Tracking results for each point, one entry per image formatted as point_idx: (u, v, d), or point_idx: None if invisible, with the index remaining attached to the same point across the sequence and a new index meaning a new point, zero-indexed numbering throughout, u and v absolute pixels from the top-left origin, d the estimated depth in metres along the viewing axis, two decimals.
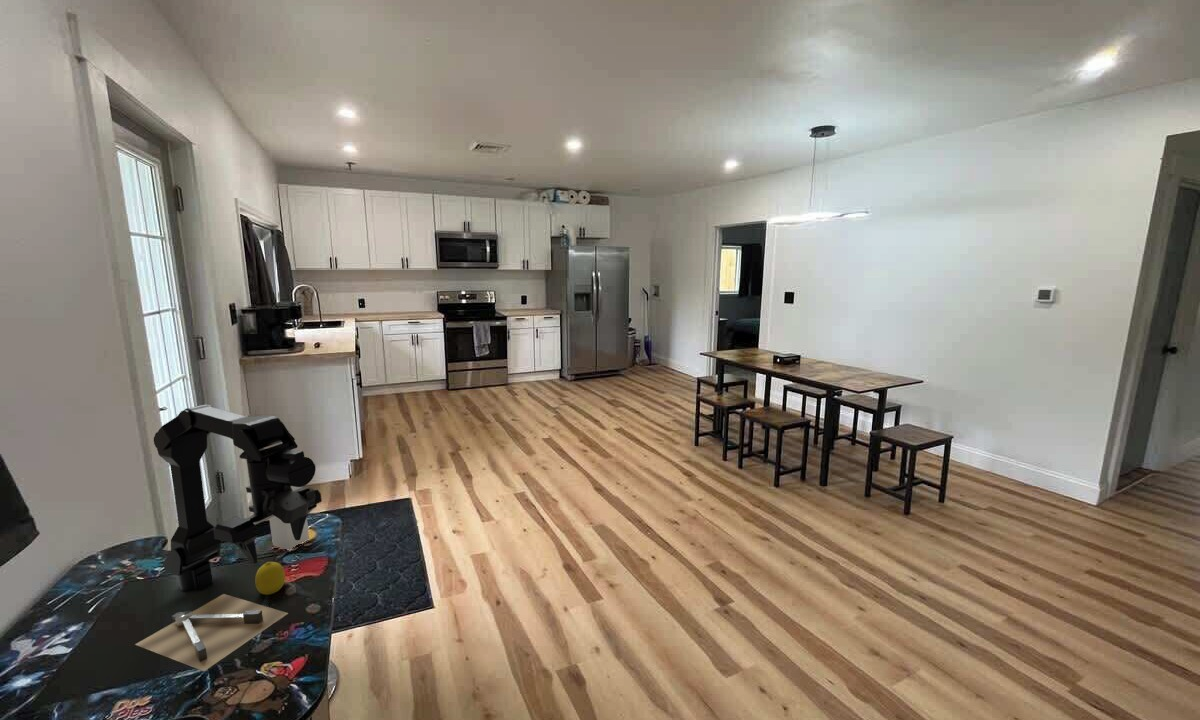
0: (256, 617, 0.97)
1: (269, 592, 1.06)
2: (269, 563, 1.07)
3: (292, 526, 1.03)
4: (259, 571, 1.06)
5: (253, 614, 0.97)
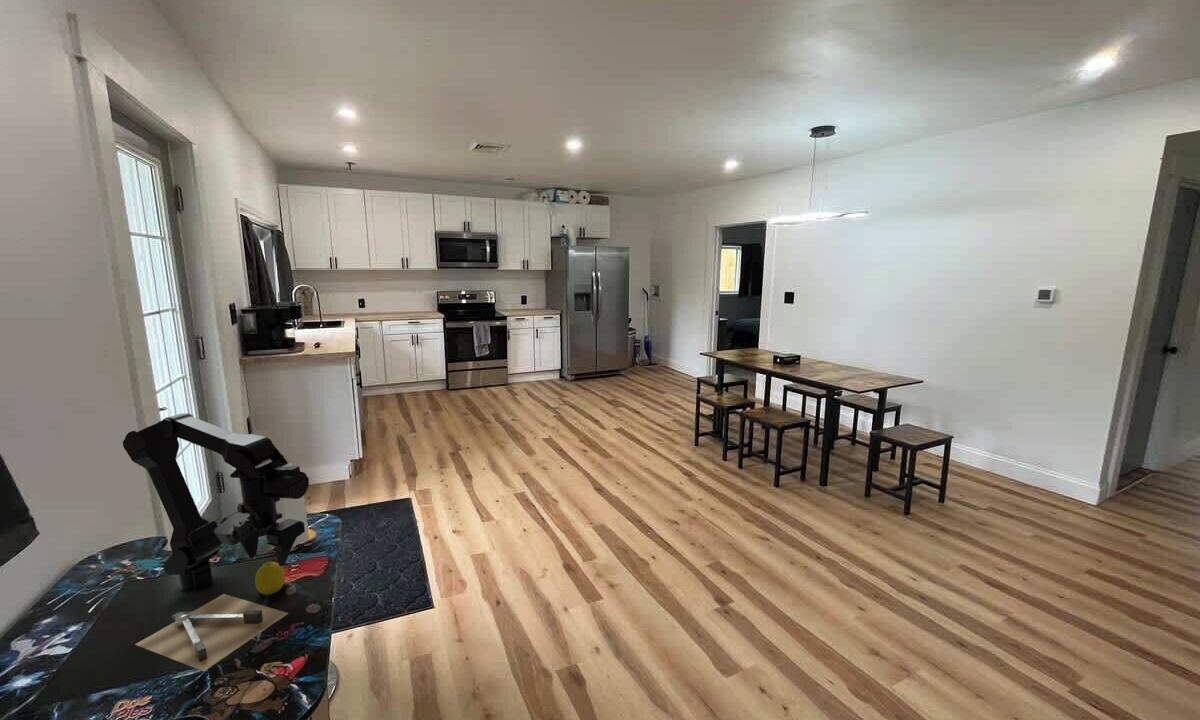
0: (256, 617, 0.97)
1: (269, 592, 1.06)
2: (269, 563, 1.07)
3: None
4: (259, 571, 1.06)
5: (253, 614, 0.97)
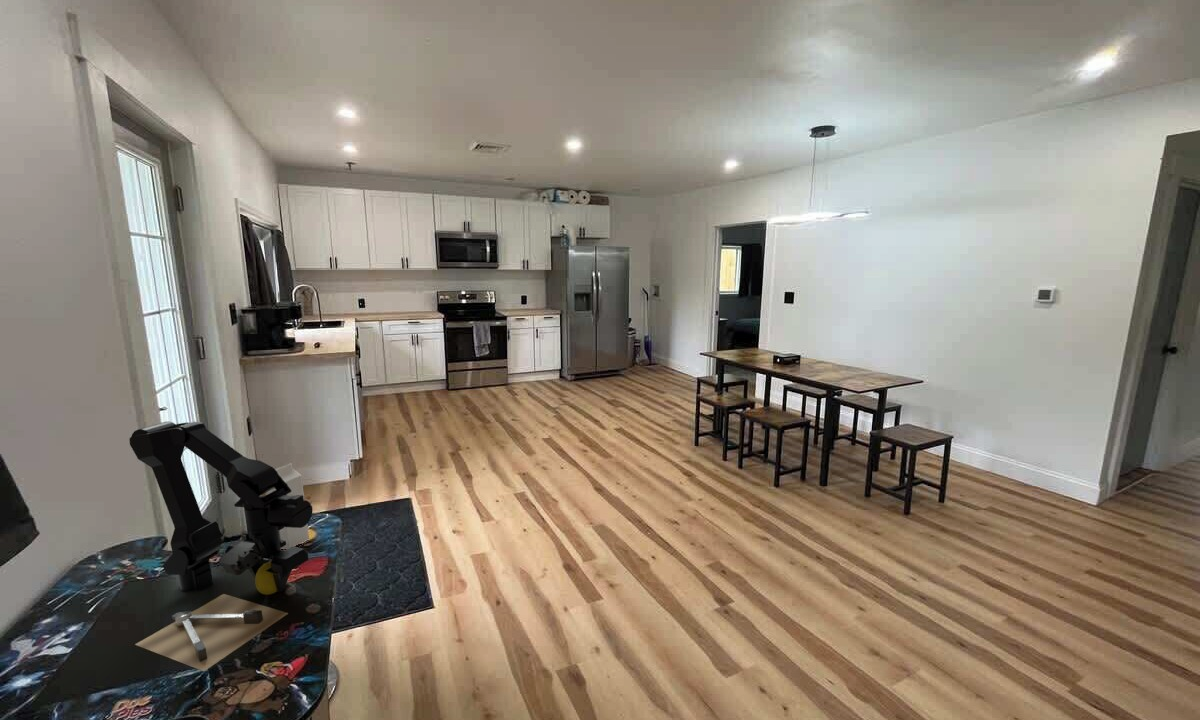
0: (256, 617, 0.97)
1: (269, 592, 1.06)
2: (269, 563, 1.07)
3: None
4: (259, 571, 1.06)
5: (253, 614, 0.97)
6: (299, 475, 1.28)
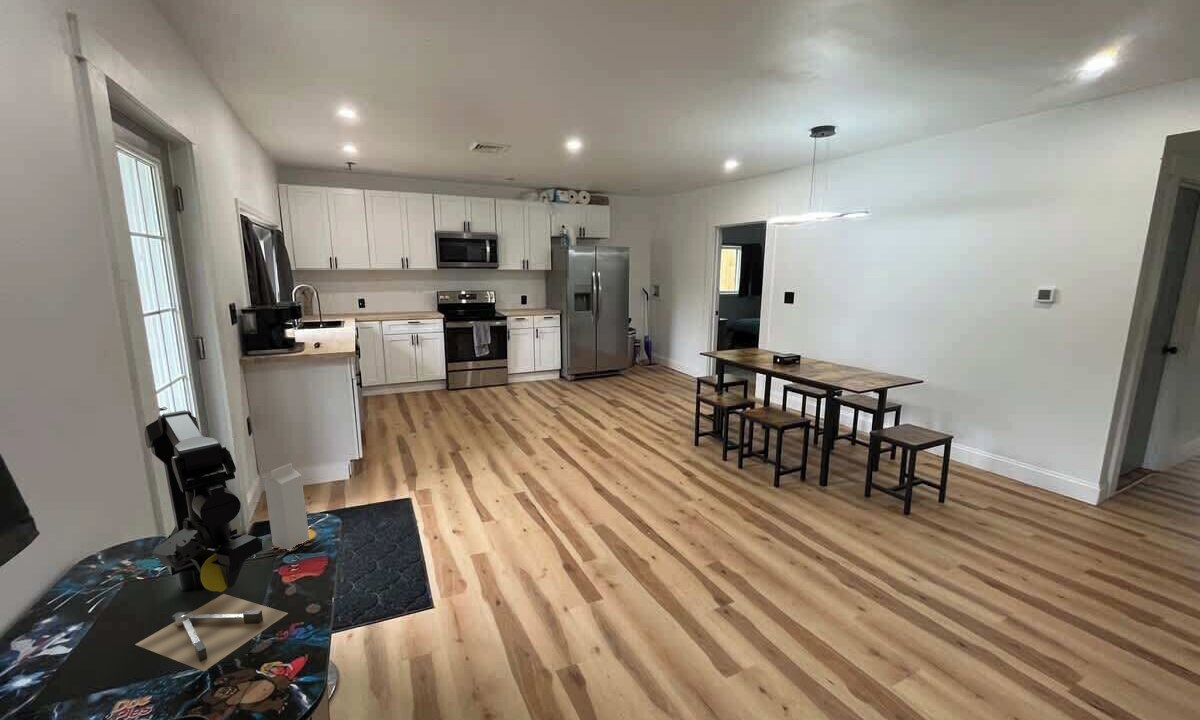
0: (256, 617, 0.97)
1: (217, 588, 0.91)
2: None
3: None
4: (205, 564, 0.91)
5: (253, 614, 0.97)
6: (299, 475, 1.28)
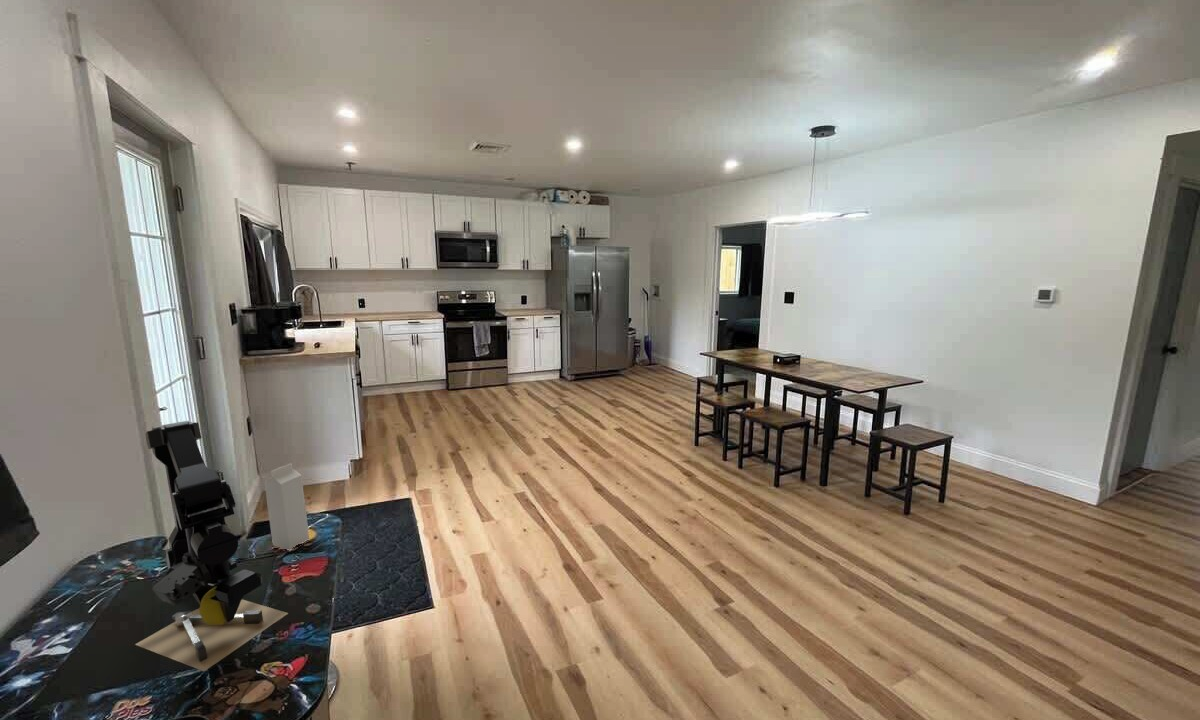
0: (256, 617, 0.97)
1: (216, 622, 0.91)
2: None
3: None
4: (204, 598, 0.91)
5: (253, 614, 0.97)
6: (299, 475, 1.28)
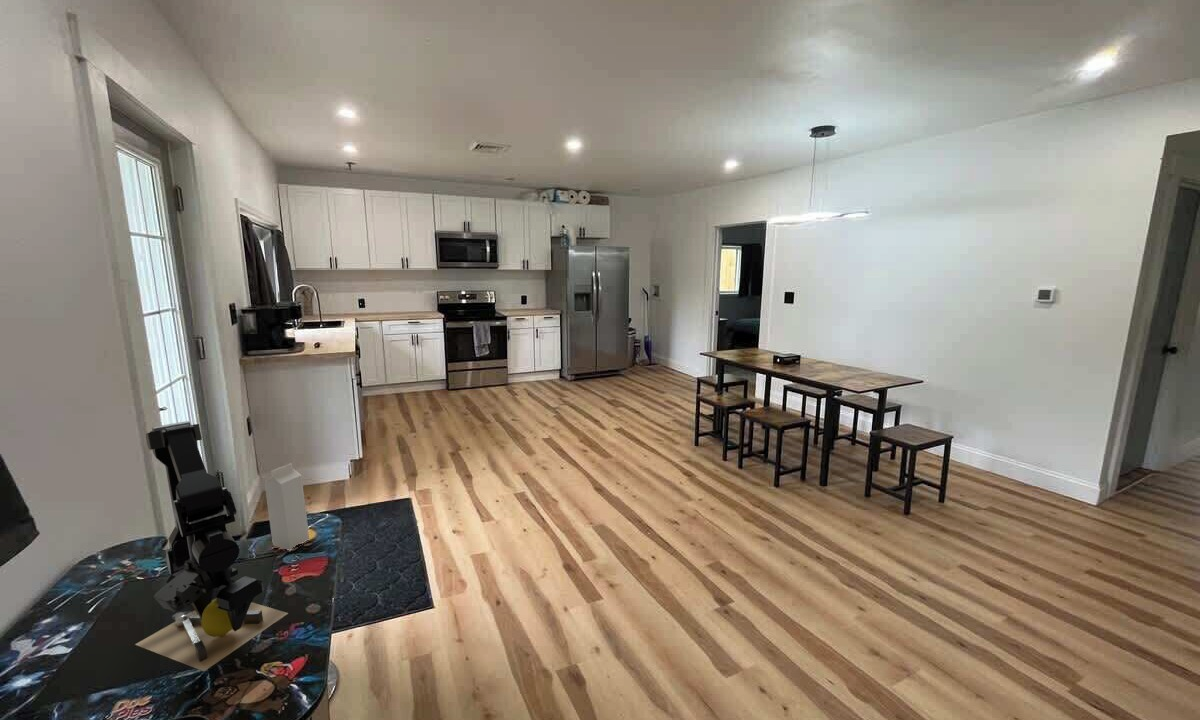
0: (256, 617, 0.97)
1: (218, 634, 0.92)
2: None
3: None
4: (206, 610, 0.91)
5: (253, 614, 0.97)
6: (299, 475, 1.28)
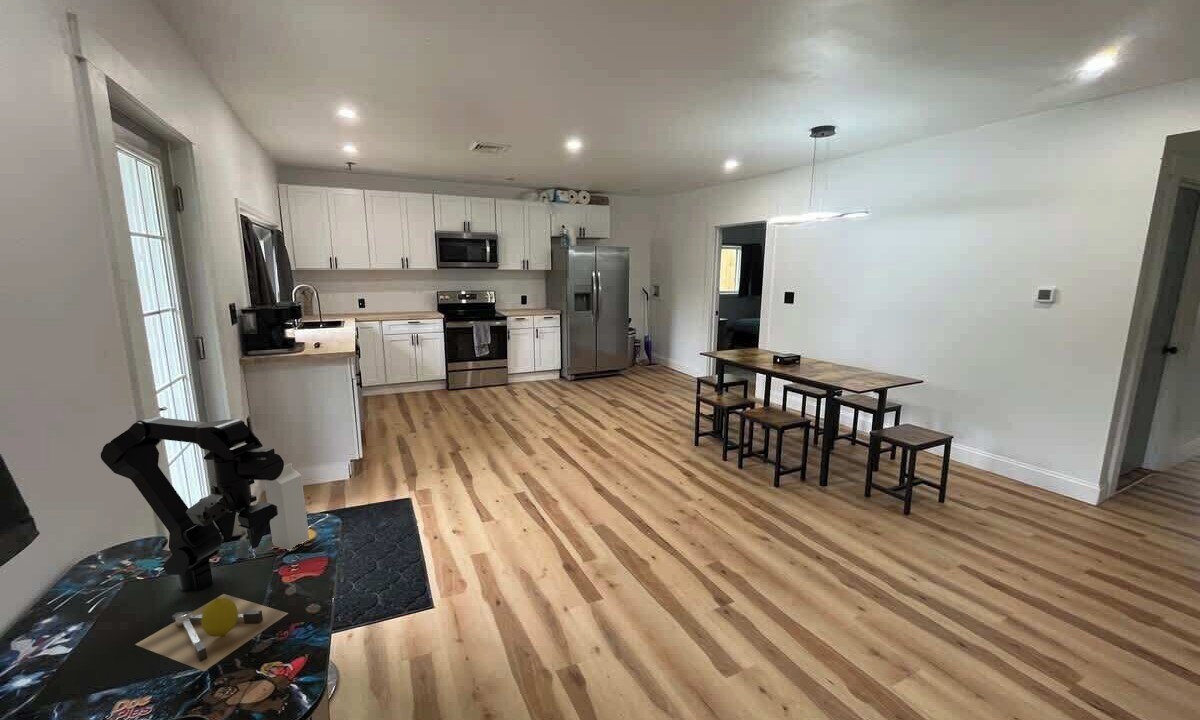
0: (256, 617, 0.97)
1: (218, 634, 0.92)
2: (218, 600, 0.93)
3: None
4: (206, 610, 0.91)
5: (253, 614, 0.97)
6: (299, 475, 1.28)
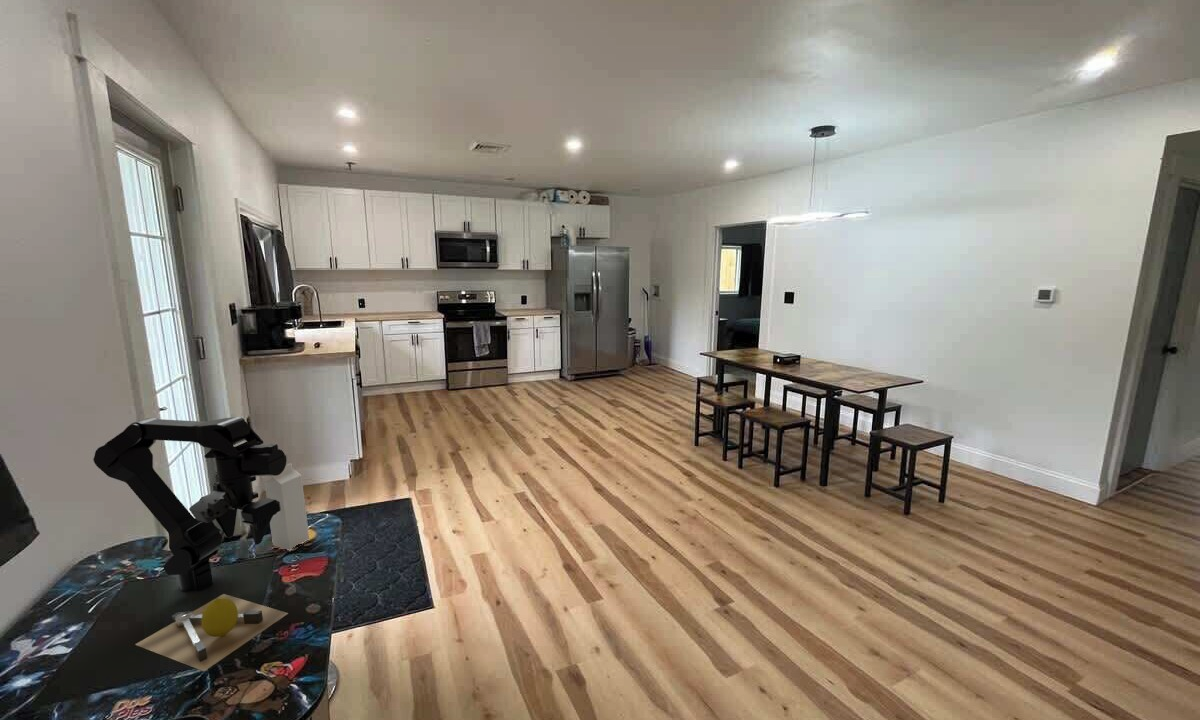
0: (256, 617, 0.97)
1: (218, 634, 0.92)
2: (218, 600, 0.93)
3: None
4: (206, 610, 0.91)
5: (253, 614, 0.97)
6: (299, 475, 1.28)
